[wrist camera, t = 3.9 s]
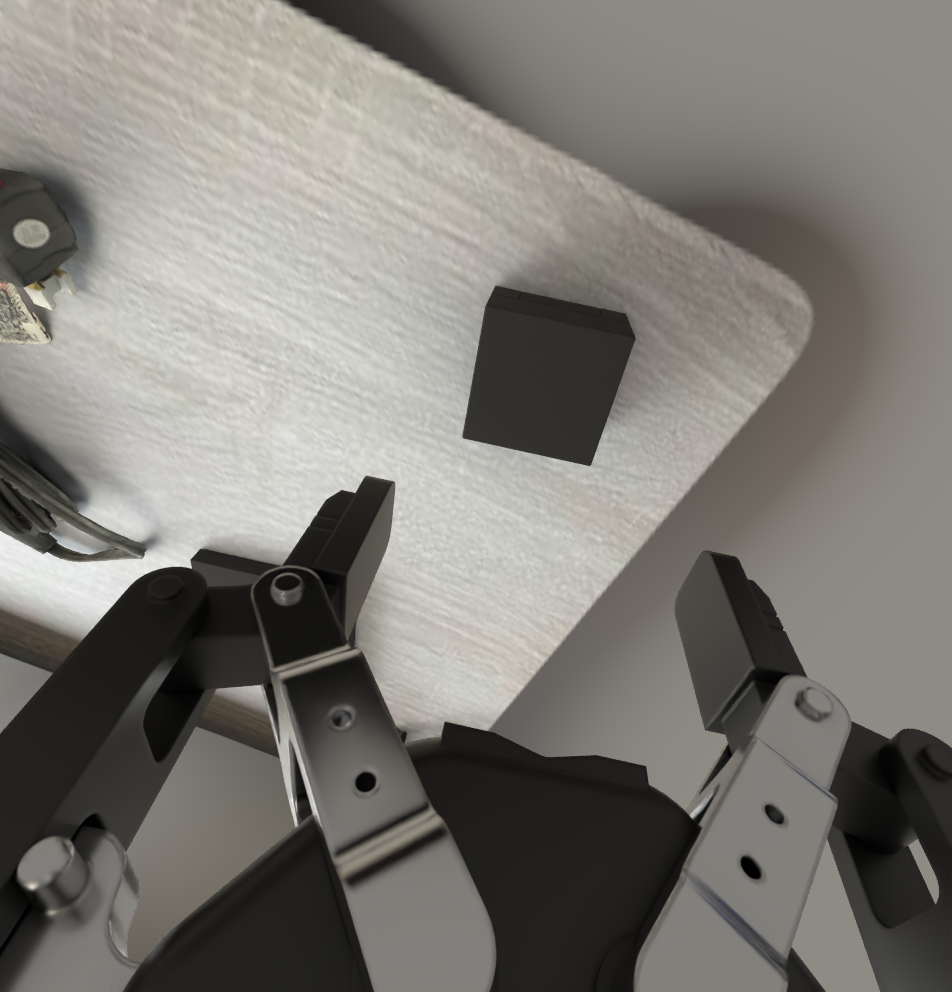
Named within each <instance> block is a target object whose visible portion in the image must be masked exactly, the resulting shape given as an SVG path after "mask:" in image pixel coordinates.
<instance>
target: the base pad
mask: <svg viewBox="0 0 952 992" xmlns="http://www.w3.org/2000/svg"><path fill="white" fill-rule="evenodd" d="M191 565H192V569H193V570H196V571H198V572H199V573H201V574H202V575H203V576H204V578H205V579H206V582H207V587H209V586H238V585H248V584H253V583H254V582H255V580H256V579H257V578H258V577H259V576H260V575H262V574H263V573H265V572H266V571H268V570H270V569H273V568H276V567H279V566H274V565H270V564H265V563H261V562H256V561H252V560H248V559H243V558H239V557H234V556H230V555H225V554H221V553H216V552H212V551H207V550H203V549H200V550H199V551H198V552H197V553H196V554H195V556H194V557H193V558H192V559H191ZM354 638H355V624H354V627H353V629H352V631H351V634H350V636H349V638H348V643H349V645H350V647H351V648H353V647H354Z"/></svg>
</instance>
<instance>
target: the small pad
mask: <svg viewBox="0 0 952 992" xmlns="http://www.w3.org/2000/svg"><path fill="white" fill-rule="evenodd" d="M634 341H635V335H634V333H633V330H632V328H631V326H630V323H629V320H628V318H627V316H626V314H624V313H619V312H615V311H610V310H605V309H599V308H595V307H591V306H586V305H581V304H577V303H572V302H567V301H563V300H558V299H553V298H549V297H544V296H539V295H535V294H530V293H525V292H522V293H521V291H517V290H512V289H507V288H503V287H498V286H495V288H494V290H493V292H492V294H491V296H490V298H489V300H488V302H487V304H486V307H485V312H484V318H483V324H482V329H481V335H480V341H479V346H478V352H477V358H476V363H475V369H474V374H473V380H472V386H471V391H470V397H469V403H468V408H467V414H466V420H465V425H464V431H463V438H464V439H469V440H473V441H478V442H482V443H487V444H492V445H496V446H501V447H505V448H510V449H514V450H519V451H524V452H528V453H533V454H537V455H542V456H546V457H551V458H555V459H560V460H565V461H569V462H574V463H578V464H583V465H587V466H590V465H591V463H592V461H593V458H594V455H595V452H596V449H597V446H598V444H599V441H600V438H601V435H602V432H603V429H604V427H605V424H606V421H607V418H608V415H609V412H610V409H611V407H612V404H613V401H614V398H615V395H616V392H617V390H618V387H619V384H620V381H621V378H622V375H623V372H624V370H625V367H626V364H627V361H628V358H629V355H630V353H631V350H632V347H633V344H634Z"/></svg>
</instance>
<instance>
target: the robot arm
mask: <svg viewBox="0 0 952 992" xmlns="http://www.w3.org/2000/svg"><path fill="white" fill-rule="evenodd" d="M394 495H395V482H394V481H389V480H384V479H380V478H375V477H371V476H365V478H364V479H363V481H362V483H361V484H360V486H359V488H358V489H357V491H356V493H353V492H348V491H344V490H341V491H339V492H338V493H336V494H335V495H333V496H331V497H330V498H328V499H327V500H326V501H325V502H324V504H323V505H322V507H321V508H320V510H319V511H318V514H317V516H315V518H314V519H313V521H312V522H311V524H310V526H309V527H308V528H307V530H306V531H305V533H304V534H303V536H302V537H301V539H300V540H299V542H298V543H297V545H296V546H295V548H294V549H293V551H292V552H291V554H290V555H289V557H288V558H287V560H286V561H285V563H284V564H283V566H280V567H276V568H273V569H270V570H268V571H266V572H265V573H263V574H262V575H260V576H259V577H258V578H257V579H256V580H255V582H254V583H253V584H248V585H238V586H209V587H207V582H206V579H205V578H204V576H203V575H202V574H201V573H199V572H198V571H196V570H193V569H190V568H186V567H168V568H162V569H158V570H155V571H152V572H150V573H148V574H145V575H144V576H142V577H140V578H139V579H137V580H136V581H135V582H134V583H133V584H132V585H131V586H130V587H129V588H128V589H127V590H126V591H125V592H124V594H123V595H122V596H121V597H120V598H119V599H118V600H117V602H116V603H115V604H114V605H113V606H112V607H111V608H110V610H109V611H108V612H107V613H106V614H105V615H104V616H103V617H102V619H101V620H100V621H99V622H98V623H97V624H96V625H95V627H94V628H93V629H92V630H91V631H90V632H89V633H88V635H87V636H86V637H85V638H84V639H83V640H82V641H81V643H80V644H79V645H78V646H77V647H76V648H75V649H74V650H73V652H72V653H71V654H70V655H69V656H68V657H67V658H66V660H65V661H64V662H63V663H62V664H61V665H60V666H59V668H58V669H57V670H56V671H55V672H54V673H53V674H52V675H51V677H50V678H49V679H48V680H47V681H46V682H45V684H44V685H43V686H42V687H41V688H40V689H39V690H38V691H37V693H36V694H35V695H34V696H33V697H32V698H31V699H30V700H29V702H28V703H27V704H26V705H25V706H24V708H22V710H21V711H20V712H19V713H18V714H17V715H16V716H15V718H14V719H13V720H12V721H11V722H10V723H9V725H8V726H7V727H6V728H5V729H4V730H3V731H2V732H1V734H0V992H826V991H825V990H824V989H823V987H822V986H821V985H820V983H819V982H818V981H817V980H816V978H815V977H814V976H813V974H812V973H811V972H810V970H809V969H808V968H807V966H806V965H805V964H804V962H803V961H802V960H801V959H800V957H799V956H798V955H797V953H796V952H795V951H794V949H793V948H792V947H791V945H792V942H793V939H794V936H795V933H796V930H797V927H798V924H799V921H800V918H801V915H802V912H803V909H804V906H805V903H806V900H807V897H808V894H809V891H810V888H811V885H812V882H813V879H814V876H815V873H816V870H817V867H818V864H819V861H820V858H821V854H822V852H823V849H824V846H825V843H826V840H827V839H828V842H829V845H830V848H831V851H832V854H833V856H834V859H835V862H836V865H837V868H838V871H839V874H840V876H841V879H842V882H843V885H844V888H845V891H846V894H847V897H848V900H849V902H850V905H851V908H852V911H853V914H854V917H855V919H856V923H857V925H858V928H859V931H860V934H861V937H862V940H863V943H864V946H865V949H866V951H867V954H868V957H869V960H870V963H871V966H872V968H873V971H874V974H875V977H876V980H877V983H878V986H879V989H880V992H952V748H951V747H950V746H948V745H947V744H946V743H944V742H943V741H941V740H940V739H938V738H936V737H934V736H932V735H930V734H928V733H926V732H923V731H920V730H916V729H903V730H901V731H900V732H899V733H897V734H896V735H895V736H894V737H893V738H892V739H888V738H886V737H884V736H882V735H880V734H877V733H875V732H873V731H871V730H869V729H867V728H865V727H863V726H861V725H859V724H856V723H854V722H852V721H851V719H850V717H849V714H848V712H847V710H846V709H845V707H844V705H843V704H842V703H841V702H840V701H839V699H838V698H837V697H836V696H835V695H834V694H833V693H832V692H830V691H829V690H828V689H826V688H825V687H824V686H822V685H821V684H819V683H817V682H816V681H813V680H811V679H809V678H807V676H806V674H805V672H804V669H803V667H802V665H801V663H800V661H799V659H798V657H797V655H796V653H795V651H794V649H793V647H792V645H791V642H790V640H789V639H788V636H787V634H786V632H785V631H783V626H782V624H781V622H780V620H779V618H778V617H776V615H777V613H776V611H775V609H774V607H773V605H772V603H771V601H770V599H769V597H768V596H767V595H766V594H765V593H764V592H763V591H762V589H761V588H760V587H759V586H758V585H757V584H756V583H755V582H754V581H753V580H748V579H747V577H746V575H745V572H744V570H743V568H742V566H741V563H740V561H739V560H738V558H737V557H735V556H730V555H725V554H721V553H716V552H712V551H703V552H702V553H701V554H700V555H699V557H698V558H697V560H696V562H695V564H694V565H693V567H692V569H691V571H690V573H689V574H688V576H687V578H686V580H685V582H684V583H683V585H682V587H681V589H680V590H679V593H678V595H677V598H676V602H675V616H676V620H677V624H678V628H679V632H680V636H681V640H682V644H683V647H684V651H685V655H686V659H687V663H688V667H689V670H690V674H691V678H692V682H693V685H694V690H695V694H696V697H697V701H698V705H699V708H700V713H701V717H702V720H703V724H704V728H705V730H707V731H711V732H716V733H721V734H725V735H726V738H727V741H728V743H727V745H726V746H725V747H724V748H723V749H722V751H721V752H720V754H719V756H718V757H717V759H716V760H715V762H714V764H713V765H712V767H711V769H710V770H709V772H708V774H707V775H706V777H705V779H704V780H703V782H702V784H701V785H700V787H699V789H698V790H697V792H696V794H695V796H694V797H693V799H692V801H691V802H690V804H689V805H688V807H687V808H686V810H684V809H683V808H681V807H680V806H679V805H678V804H677V803H676V802H675V801H673V800H672V799H670V798H669V797H668V796H667V795H665V794H663V793H662V792H660V791H659V790H657V789H656V788H654V787H652V786H650V785H649V783H648V776H647V770H646V766H643V765H638V764H634V763H629V762H625V761H620V760H615V759H611V758H606V757H602V756H597V755H592V756H570V757H544V756H541V755H539V754H537V753H535V752H533V751H531V750H529V749H526V748H524V747H522V746H520V745H518V744H516V743H514V742H512V741H510V740H508V739H506V738H504V737H502V736H500V735H498V734H496V733H493V732H489V731H484V730H480V729H475V728H471V727H466V726H462V725H457V724H453V723H448V722H445V723H444V727H443V731H442V735H441V737H434V738H426V739H420V740H416V741H413V742H410V743H406V744H404V743H403V741H402V739H401V737H400V734H399V732H398V730H397V728H396V725H395V723H394V721H393V719H392V716H391V714H390V712H389V710H388V708H387V705H386V703H385V701H384V699H383V696H382V694H381V692H380V690H379V687H378V685H377V683H376V681H375V679H374V676H373V674H372V672H371V670H370V667H369V665H368V663H367V661H366V658H365V656H364V654H363V653H362V651H361V650H360V649H359V648H358V647H353V648H351V647H350V645H349V643H348V638H349V636H350V634H351V631H352V629H353V627H354V624H355V622H356V620H357V617H358V615H359V613H360V610H361V608H362V605H363V603H364V601H365V598H366V596H367V594H368V591H369V589H370V587H371V584H372V582H373V580H374V577H375V575H376V573H377V570H378V568H379V566H380V563H381V561H382V558H383V556H384V554H385V551H386V549H387V545H388V542H389V538H390V533H391V525H392V515H393V505H394ZM253 685H261V687H262V691H263V694H264V698H265V702H266V706H267V710H268V713H269V717H270V721H271V725H272V729H273V732H274V736H275V740H276V744H277V748H278V751H279V756H280V760H281V764H282V770H283V776H284V781H285V786H286V791H287V795H288V799H289V803H290V807H291V811H292V815H293V819H294V822H295V826H296V828H295V829H293V830H292V831H291V832H290V833H288V834H287V835H286V836H285V837H284V838H282V839H281V840H280V841H279V842H277V843H276V844H275V845H274V846H273V847H271V848H270V849H269V850H268V851H266V852H265V853H264V854H263V855H262V856H260V857H259V858H258V859H257V860H256V861H254V862H253V863H252V864H251V865H249V866H248V867H247V868H246V869H245V870H243V871H242V872H241V873H240V874H239V875H237V876H236V877H235V878H234V879H232V880H231V881H230V882H229V883H228V884H227V885H225V886H224V887H223V888H222V889H220V890H219V891H218V892H217V893H215V894H214V895H213V896H212V897H211V898H209V899H208V900H207V901H206V902H205V903H203V904H202V905H201V906H200V907H198V908H197V909H196V910H195V911H194V912H193V913H191V914H190V915H189V916H188V917H186V918H185V919H184V920H183V921H181V922H180V923H179V924H178V925H177V926H176V927H174V928H173V929H172V930H171V931H170V932H169V933H168V934H167V935H166V936H165V937H164V938H163V939H162V940H161V941H160V942H159V943H158V944H157V945H156V946H155V947H154V949H153V950H152V951H151V952H150V953H149V954H148V956H147V957H146V958H145V959H144V961H143V962H142V963H139V962H135V961H132V960H130V959H128V956H127V936H128V932H129V927H130V924H131V921H132V918H133V916H134V913H135V910H136V908H137V904H138V899H139V891H140V886H139V880H138V877H137V874H136V872H135V870H134V868H133V866H132V864H131V862H130V860H129V858H128V856H127V854H126V851H127V849H128V847H129V846H130V844H131V842H132V840H133V838H134V836H135V835H136V833H137V831H138V829H139V828H140V826H141V824H142V822H143V820H144V818H145V817H146V815H147V813H148V811H149V810H150V808H151V806H152V804H153V802H154V801H155V799H156V797H157V795H158V793H159V792H160V790H161V788H162V786H163V784H164V783H165V781H166V779H167V777H168V775H169V773H170V772H171V770H172V768H173V766H174V764H175V763H176V761H177V759H178V757H179V755H180V754H181V752H182V750H183V748H184V746H185V745H186V743H187V741H188V739H189V737H190V736H191V734H192V732H193V730H194V728H195V727H196V725H197V723H198V721H199V719H200V718H201V716H202V714H203V712H204V710H205V709H206V707H207V705H208V703H209V701H210V700H211V698H212V696H213V694H214V692H215V691H216V689H217V688H229V687H241V686H253ZM917 839H919V842H920V844H921V846H922V848H923V850H924V852H925V854H926V856H927V858H928V860H929V862H930V864H931V866H932V869H933V871H934V873H935V875H936V877H937V880H938V885H939V898H938V901H937V903H936V904H935V903H934V901H933V898H932V896H931V894H930V892H929V890H928V888H927V885H926V883H925V881H924V879H923V877H922V875H921V872H920V870H919V868H918V866H917V864H916V862H915V859H914V857H913V855H912V853H911V851H910V849H909V847H908V845H909V844H911V843H912V842H914V841H915V840H917Z"/></svg>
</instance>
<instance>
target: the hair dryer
mask: <svg viewBox="0 0 952 992" xmlns="http://www.w3.org/2000/svg"><path fill="white" fill-rule="evenodd" d="M75 241H76V236H75V233H74V230H73V229H72V227H71V225H70V223H69V221H68V218H67V216H66V214H65V212H64V211H63V210H62V209H61V208H60V207H59V205H58V204H57V203H56V202H55V201H54V200H53V198H52V197H51V195H50V194H49V192H48V190H47V188H46V186H45V185H44V184H43V183H41V182H39V181H38V180H36V179H34V178H32V177H30V176H28V175H26V174H25V173H23V172H16V171H10V170H5V169H0V279H1V280H3V281H4V283H2V284H1V282H0V284H1V285H0V288H1V289H2V290H4V289H6V288H7V287H8V288H7V289H6V291H7V292H8V291H9V290H10V291H9V292H8V296H9V298H10V300H11V303H14V305H13V306H12V307H11V306H10V305H9V302H8V299H6V300H5V298H6V297H7V296H6V295H4V294H5V293H4V292H3V291H0V294H1V295H0V296H4V299H1V298H0V302H2V300H4V302H7V305H6V304H1V305H0V315H1V316H2V320H4V321H5V320H7V318H6V317H5V315H4V314H3V313H2V312H3V311H5V312H6V314H7V316H8V318H9V319H10V320H9V321H8V322H9V324H7V323H3V322H2V321H1V320H0V328H2V330H0V334H1V337H0V342H4V343H16V344H22V345H23V344H48V343H50V342H51V338H50V336H49V334H48V333H46V334H47V336H48V338H46V335H45V334H44V333H43V332H42V331H45V332H46V330H45V328H44V326H43V325H42V323H41V322H40V320H39V319H38V318H37V316H36V315H35V313H34V312H33V313H32V314H33V315H34V317H36V320H34V319H33V317H32V315H31V314H30V312H29V310H28V309H27V307H26V306H25V304H24V303H23V301H22V298H21V296H20V294H19V293H17V291H16V289H15V285H16V286H19V287H24V289H25V290H26V292H27V293H28V295H29V296H30V298H31V299H32V301H33V302H34V304H37V305H39V306H43V307H45V308H47V309H50V310H51V309H55V307H56V304H55V302H54V300H53V299H52V297H51V296H53V295H54V294H55V293H56V292H58V291H61V292H64V293H67V294H70V295H73V296H74V295H75V294H76V293H77V292H78V290H77V289H76V287H75V286H74V284H73V282H72V280H71V278H70V276H69V274H68V273H67V272H65V271H62V270H60V268H59V266H60V265H61V264H62V263H63V262H65V261H66V260H67V259H68V258H69V257H71V256H72V255H73V254H74V253H75V252H77V251H78V248H77V246H76V243H75ZM5 281H6V282H8V284H6V283H5ZM5 284H6V285H5ZM10 284H11V285H10ZM4 285H5V286H4ZM3 286H4V287H3ZM2 287H3V288H2ZM11 293H12V294H11ZM13 296H15V297H14V298H12V297H13ZM14 300H15V301H16V302H15V301H14ZM17 303H18V304H17ZM1 306H2V307H3V308H4V309H3V308H2V307H1ZM8 307H11V308H10V310H11V311H12V312H13V314H14V315H13V316H14V318H15V321H14V319H13V318H12V317H11V316H10V313H9V309H8ZM14 307H16V310H17V311H18V314H19V315H21V316H20V318H19V317H17V316H16V312H15V309H14ZM19 307H21V308H20V309H18V308H19ZM2 309H3V310H2ZM23 310H24V313H25V315H24V314H23V313H22V312H20V311H23ZM25 318H27V319H28V320H26V319H25ZM11 321H12V322H13V323H14V324H15V325H13V324H12V323H11ZM35 321H37V323H36V322H35ZM18 322H20V323H21V324H22V325H20V324H19V323H18ZM8 325H10V326H11V328H12V329H11V328H9V327H8ZM14 326H16V327H17V328H15V327H14ZM40 327H41V328H42V330H41V329H40ZM23 328H24V329H25V330H26V331H25V330H24V329H23ZM17 332H20V334H18V333H17ZM25 337H27V338H28V339H27V338H25ZM23 340H25V342H24V341H23ZM78 512H79V510H78V509H77V507H76V505H75V504H74V503H73V502H72V501H71V500H70V498H69V497H68V496H66V495H65V494H64V493H63V492H62V491H60V490H59V489H58V488H57V487H55V486H54V485H53V484H52V483H50V482H49V481H48V480H47V479H45V478H44V477H43V476H42V475H41V474H40V473H38V472H37V471H36V470H35V469H34V468H33V467H32V466H31V465H30V464H29V463H27V462H26V461H25V460H24V459H23V458H21V457H20V456H19V455H17V454H16V453H15V452H13V451H12V450H11V449H10V448H8V447H7V446H6V445H5V444H3V443H2V442H0V531H2V532H3V533H5V534H7V535H9V536H11V537H13V538H14V539H16V540H19V541H20V542H22V543H24V544H26V545H28V546H30V547H32V548H33V549H35V550H37V551H39V552H41V553H42V554H44V553H46V552H48V553H50V554H52V555H53V556H56V557H58V558H60V559H64V560H68V561H73V562H89V561H108V560H119V559H142V558H143V557H144V552H145V551H146V548H145V547H144V546H143V545H141V544H139V543H137V542H135V541H132V540H130V539H129V538H126V537H124V536H121V535H119V534H117V533H114V532H112V531H110V530H108V529H106V528H104V527H102V526H100V525H99V524H97V523H95V522H93V521H92V520H90V519H88V518H86V517H84V516H83V515H81V514H80V513H78ZM52 517H53V518H56V519H58V520H61V521H66V522H67V523H69V524H71V525H72V526H74V527H76V528H77V529H79V530H81V531H83V532H85V533H87V534H89V535H90V536H92V537H94V538H96V539H98V540H100V541H102V542H104V543H106V544H108V545H111V546H113V547H115V548H117V549H114V550H108V551H103V552H99V553H96V554H91V555H88V554H82V553H79V552H76V551H72V550H69V549H67V548H65V547H63V546H61V545H59V544H58V543H56V542H57V540H56V539H55V538H53V537H52V536H51V535H50V534H49V533H48V532H50V531H51V530H53V529H55V528H56V527H57V524H56V522H55V521H54V520H53V518H52Z"/></svg>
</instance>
